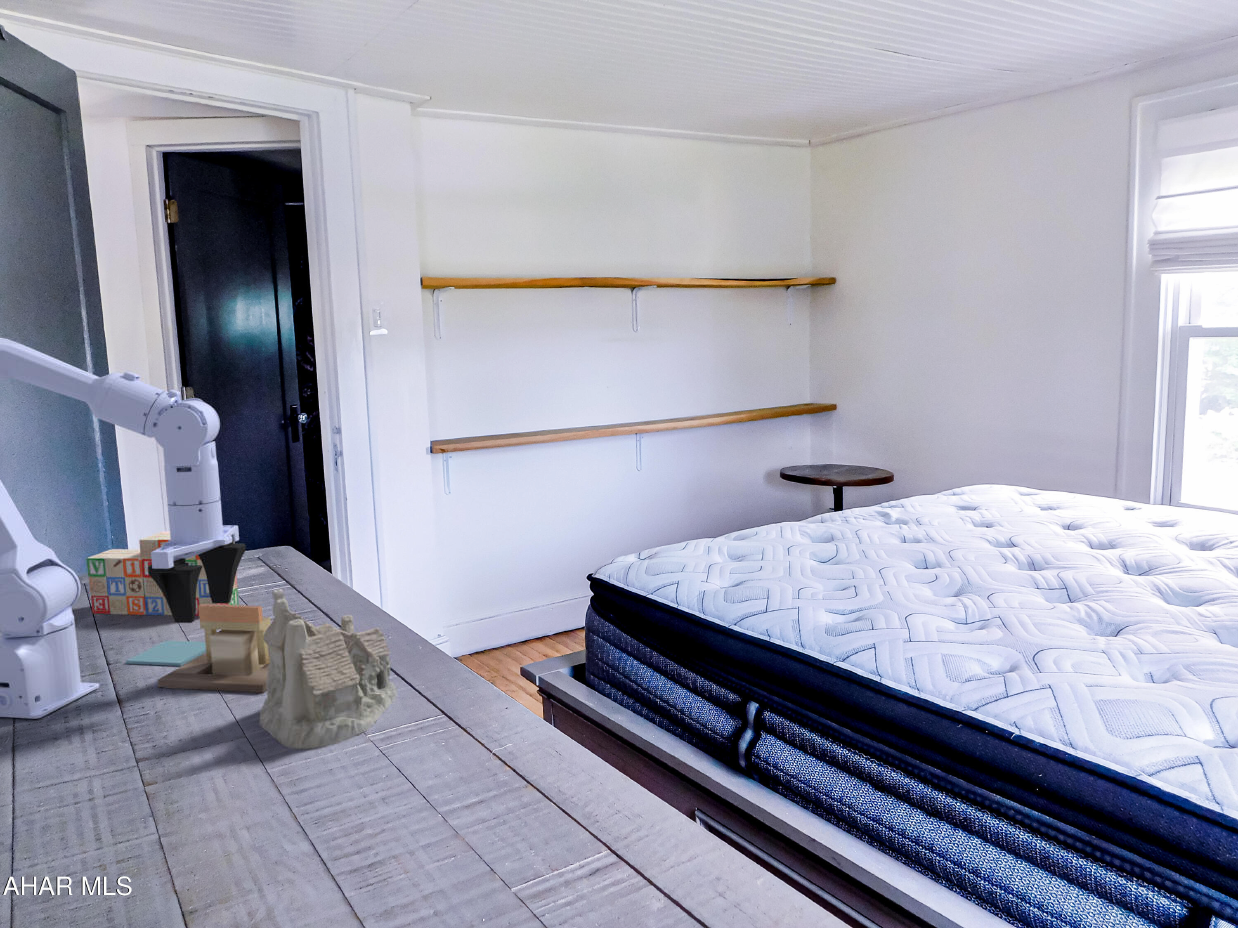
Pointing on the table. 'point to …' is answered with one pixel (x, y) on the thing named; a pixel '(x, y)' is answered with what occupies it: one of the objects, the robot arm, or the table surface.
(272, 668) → the ceramic cottage
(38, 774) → the table surface
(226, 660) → the birch block
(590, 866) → the table surface
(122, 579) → the stack of blocks
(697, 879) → the table surface
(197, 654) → the teal square plate
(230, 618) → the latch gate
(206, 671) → the puzzle board
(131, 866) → the table surface
